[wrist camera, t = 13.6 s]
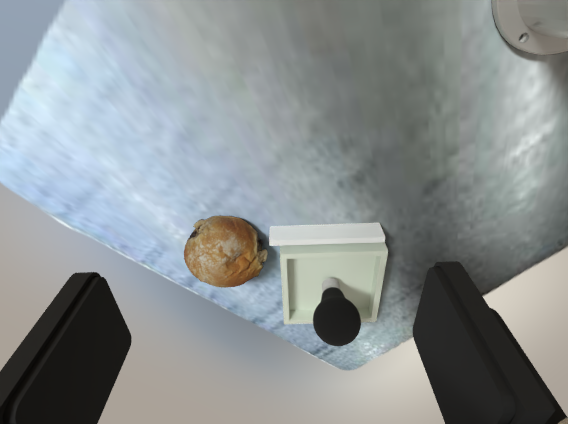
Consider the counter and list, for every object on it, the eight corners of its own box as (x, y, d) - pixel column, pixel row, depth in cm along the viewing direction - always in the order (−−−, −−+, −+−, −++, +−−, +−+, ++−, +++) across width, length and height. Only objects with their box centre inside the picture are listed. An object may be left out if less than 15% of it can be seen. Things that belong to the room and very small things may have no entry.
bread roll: (225, 191, 45) (188, 210, 38) (286, 239, 44) (259, 268, 37) (197, 241, 50) (159, 267, 43) (251, 286, 48) (221, 319, 42)
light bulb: (328, 300, 50) (337, 362, 42) (300, 280, 48) (304, 341, 39) (359, 279, 48) (375, 340, 39) (331, 257, 46) (342, 317, 37)
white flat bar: (379, 222, 43) (385, 237, 41) (378, 227, 44) (384, 242, 41) (269, 226, 43) (269, 240, 41) (270, 231, 44) (269, 245, 41)
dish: (383, 238, 45) (388, 250, 42) (372, 308, 52) (376, 321, 50) (280, 241, 45) (280, 254, 43) (284, 310, 52) (284, 324, 50)
